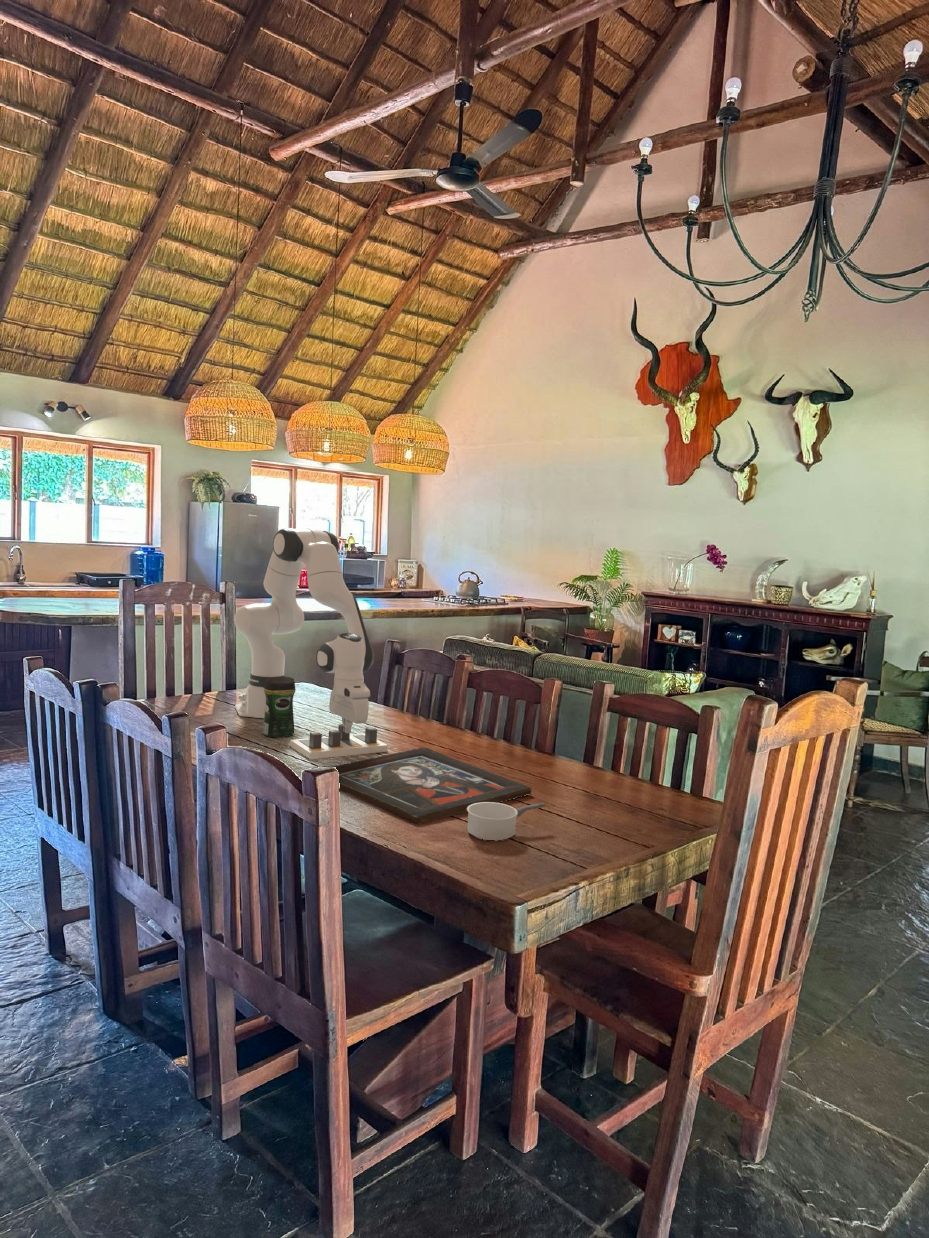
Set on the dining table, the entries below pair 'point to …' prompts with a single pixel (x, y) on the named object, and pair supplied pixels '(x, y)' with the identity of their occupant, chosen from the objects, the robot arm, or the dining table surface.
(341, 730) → the block
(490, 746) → the dining table surface
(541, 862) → the dining table surface
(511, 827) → the saucepan
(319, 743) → the block
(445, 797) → the religious icon
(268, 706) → the coffee jar
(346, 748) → the panel
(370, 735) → the block
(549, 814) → the dining table surface
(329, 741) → the block
